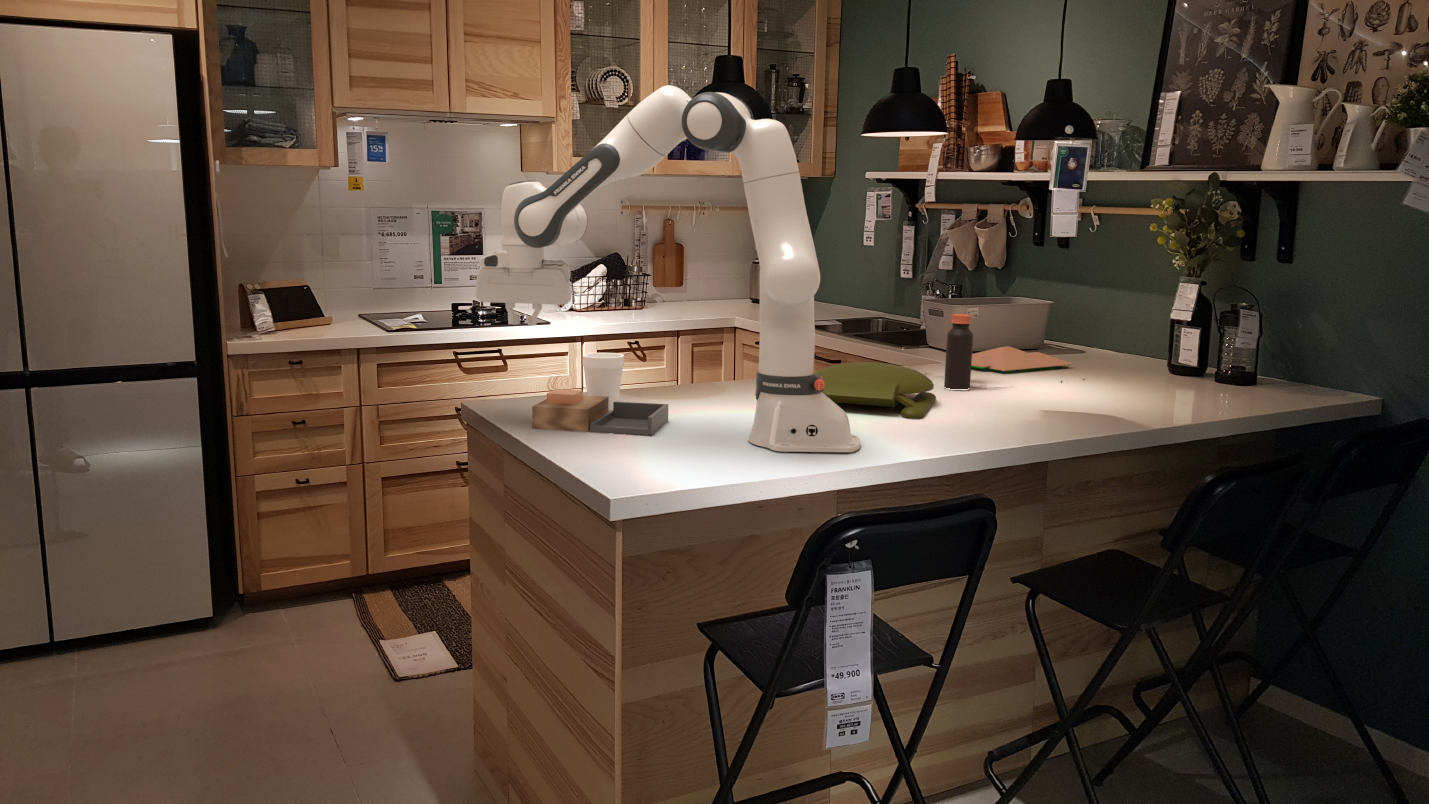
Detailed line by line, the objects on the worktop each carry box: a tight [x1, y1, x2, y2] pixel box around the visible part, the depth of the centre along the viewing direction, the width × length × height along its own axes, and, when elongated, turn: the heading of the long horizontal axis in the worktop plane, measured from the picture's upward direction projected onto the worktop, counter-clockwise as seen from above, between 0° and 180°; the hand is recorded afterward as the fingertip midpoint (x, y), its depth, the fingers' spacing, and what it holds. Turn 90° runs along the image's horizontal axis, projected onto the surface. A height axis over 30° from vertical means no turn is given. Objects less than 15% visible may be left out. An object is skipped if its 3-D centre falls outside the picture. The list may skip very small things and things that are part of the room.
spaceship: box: [814, 361, 937, 419], centre depth 265 cm, size 35×31×10 cm
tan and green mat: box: [971, 345, 1074, 375], centre depth 323 cm, size 23×33×8 cm
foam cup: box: [582, 352, 625, 411], centre depth 246 cm, size 10×9×13 cm
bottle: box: [943, 313, 974, 389], centre depth 287 cm, size 7×7×20 cm
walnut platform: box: [531, 394, 609, 433], centre depth 231 cm, size 12×16×5 cm
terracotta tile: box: [546, 388, 583, 404], centre depth 231 cm, size 6×6×2 cm
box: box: [589, 401, 669, 437], centre depth 229 cm, size 13×16×4 cm
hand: (523, 324), depth 230 cm, fingers closed
